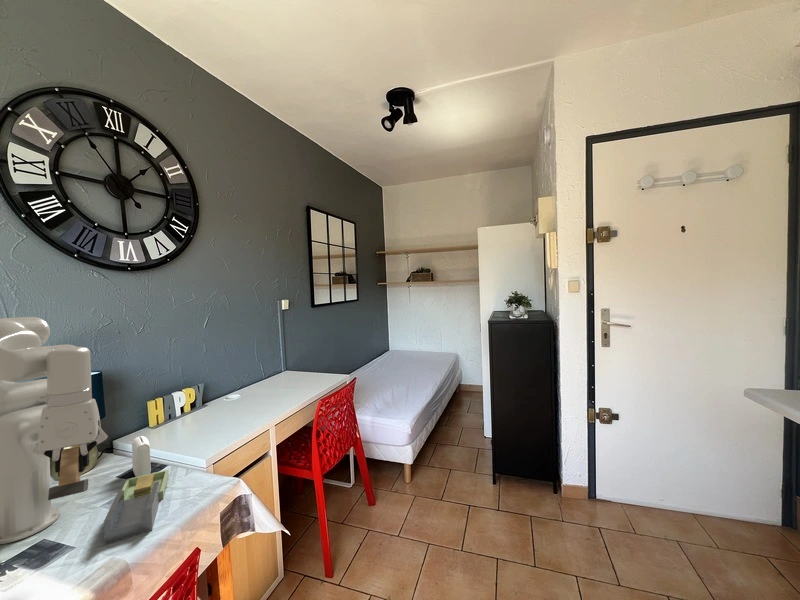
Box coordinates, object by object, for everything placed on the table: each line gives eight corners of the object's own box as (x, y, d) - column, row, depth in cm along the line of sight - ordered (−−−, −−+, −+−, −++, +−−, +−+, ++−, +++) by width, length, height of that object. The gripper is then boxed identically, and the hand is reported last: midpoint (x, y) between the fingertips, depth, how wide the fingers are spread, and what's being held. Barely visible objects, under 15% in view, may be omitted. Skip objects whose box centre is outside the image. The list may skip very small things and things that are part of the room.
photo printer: (131, 470, 113) (130, 435, 113) (146, 465, 116) (145, 431, 116) (136, 481, 106) (135, 444, 106) (152, 475, 109) (151, 440, 109)
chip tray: (115, 512, 91) (115, 503, 91) (127, 486, 103) (126, 479, 103) (163, 499, 97) (163, 490, 97) (168, 476, 109) (168, 469, 109)
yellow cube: (135, 483, 97) (138, 477, 101) (136, 496, 97) (139, 489, 101) (152, 479, 99) (154, 473, 103) (152, 492, 99) (154, 485, 103)
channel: (104, 544, 79) (103, 521, 79) (118, 512, 91) (118, 491, 91) (152, 530, 84) (151, 507, 84) (159, 500, 96) (159, 481, 96)
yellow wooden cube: (134, 503, 94) (133, 490, 94) (137, 496, 97) (136, 483, 97) (151, 498, 96) (150, 485, 96) (153, 491, 99) (153, 479, 99)
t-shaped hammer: (47, 500, 73) (52, 451, 76) (53, 497, 76) (58, 450, 78) (83, 491, 76) (87, 445, 79) (87, 489, 79) (91, 444, 81)
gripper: (13, 409, 71) (16, 490, 71) (110, 396, 79) (112, 469, 79) (29, 399, 77) (32, 474, 78) (117, 388, 86) (120, 456, 86)
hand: (72, 471), depth 78 cm, fingers closed on t-shaped hammer, 3 cm apart
